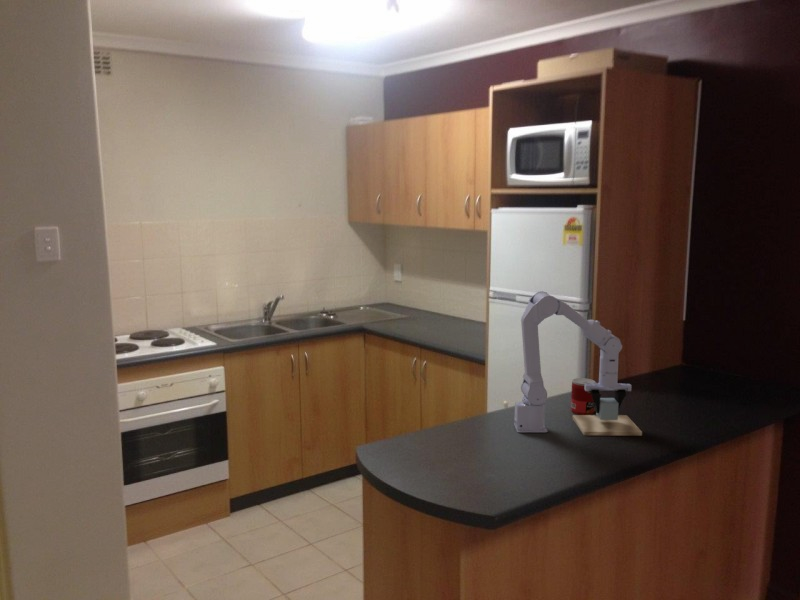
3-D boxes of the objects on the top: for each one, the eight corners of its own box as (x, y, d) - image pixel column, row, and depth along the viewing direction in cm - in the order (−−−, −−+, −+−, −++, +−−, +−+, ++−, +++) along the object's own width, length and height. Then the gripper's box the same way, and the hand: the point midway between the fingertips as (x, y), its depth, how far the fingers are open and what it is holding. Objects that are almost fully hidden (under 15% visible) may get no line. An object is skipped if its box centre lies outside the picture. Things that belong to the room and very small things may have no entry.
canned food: (590, 416, 239) (591, 385, 238) (567, 412, 244) (568, 381, 242) (597, 411, 246) (599, 380, 244) (575, 407, 250) (576, 376, 248)
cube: (600, 419, 226) (601, 403, 225) (596, 414, 232) (596, 397, 231) (617, 419, 226) (618, 403, 225) (612, 414, 232) (613, 397, 231)
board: (584, 435, 222) (584, 431, 222) (572, 418, 238) (572, 415, 238) (641, 435, 222) (642, 431, 222) (626, 418, 238) (626, 415, 237)
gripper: (588, 374, 223) (587, 416, 225) (635, 374, 223) (633, 416, 225) (583, 368, 230) (581, 409, 232) (628, 368, 230) (626, 409, 232)
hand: (606, 412), depth 229 cm, fingers closed on cube, 5 cm apart
